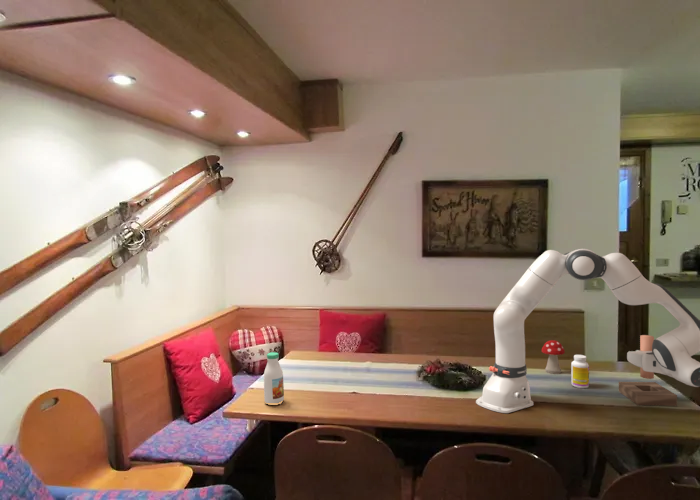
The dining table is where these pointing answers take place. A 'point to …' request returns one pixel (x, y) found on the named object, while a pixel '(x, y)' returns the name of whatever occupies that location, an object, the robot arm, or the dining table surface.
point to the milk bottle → (273, 380)
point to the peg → (646, 346)
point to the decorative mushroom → (553, 356)
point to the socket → (647, 393)
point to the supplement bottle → (580, 372)
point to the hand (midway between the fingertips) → (645, 351)
